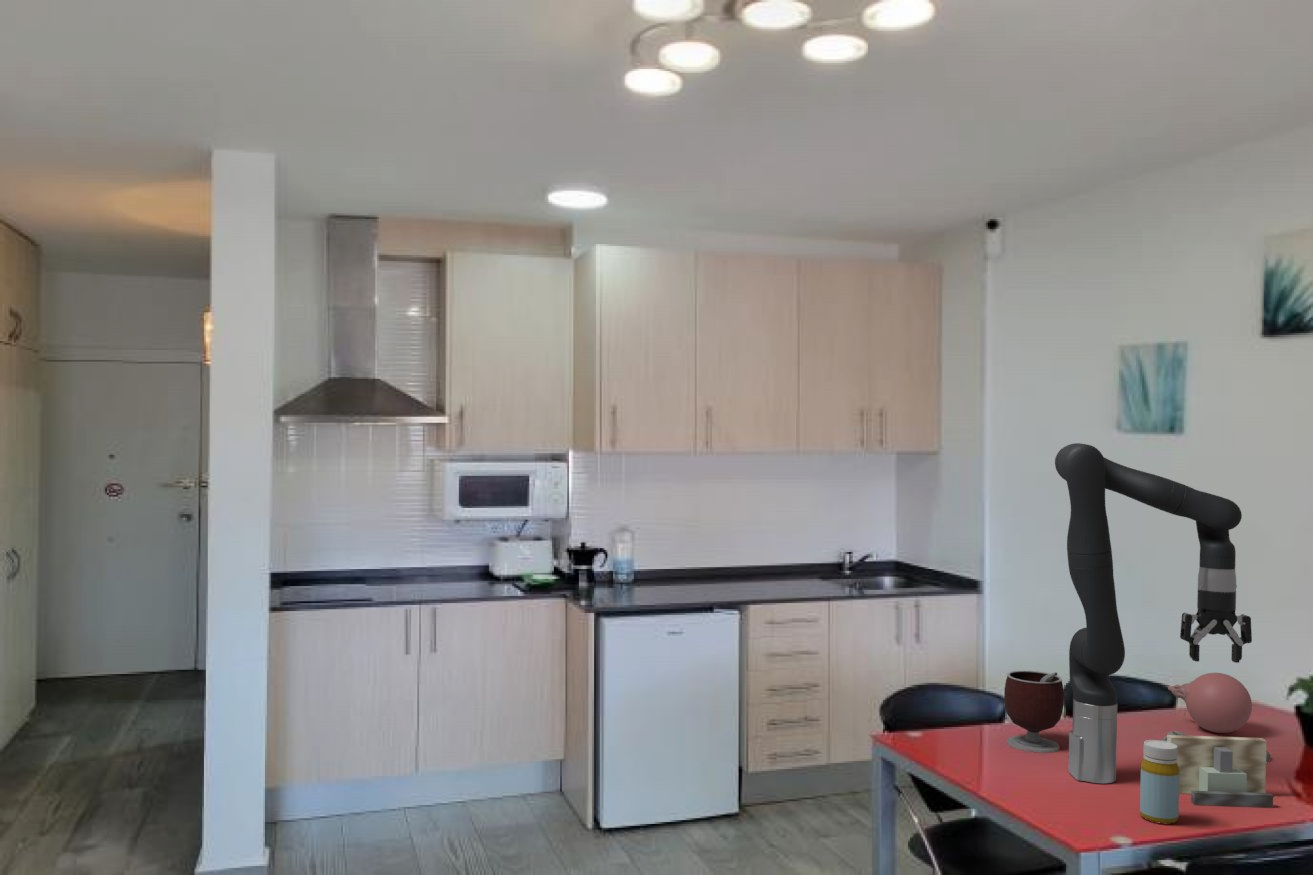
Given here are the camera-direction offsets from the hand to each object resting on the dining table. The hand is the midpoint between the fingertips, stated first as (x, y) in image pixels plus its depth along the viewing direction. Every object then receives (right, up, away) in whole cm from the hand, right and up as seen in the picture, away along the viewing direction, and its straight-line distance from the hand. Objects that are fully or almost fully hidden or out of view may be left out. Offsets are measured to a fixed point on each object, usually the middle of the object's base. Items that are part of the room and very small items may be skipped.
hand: (1215, 661), depth 233 cm
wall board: (-3, -28, -8) cm, 29 cm away
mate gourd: (-30, -27, +28) cm, 49 cm away
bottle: (-22, -27, -21) cm, 41 cm away
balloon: (+22, -28, +45) cm, 57 cm away
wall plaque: (+10, -28, +21) cm, 37 cm away
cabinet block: (-3, -28, -8) cm, 29 cm away
